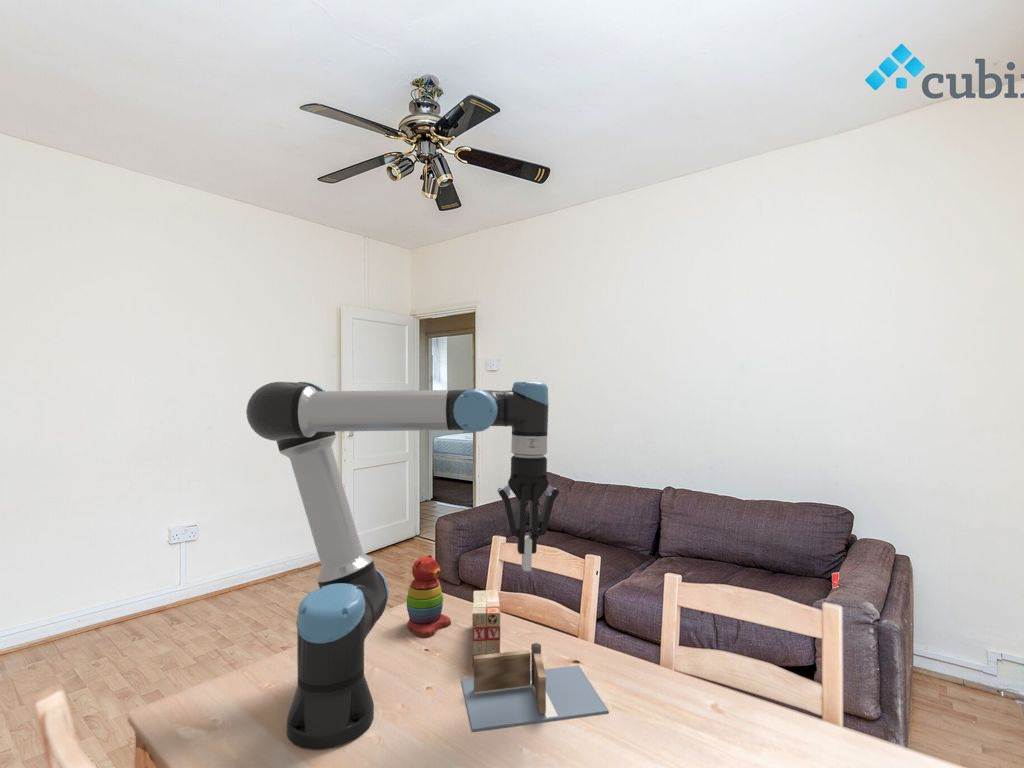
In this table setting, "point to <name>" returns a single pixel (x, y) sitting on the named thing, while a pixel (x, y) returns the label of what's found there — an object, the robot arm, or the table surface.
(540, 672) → the fence folding panel
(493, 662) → the fence fixed panel
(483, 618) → the stack of blocks
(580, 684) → the board
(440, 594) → the stacking bear
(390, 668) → the table surface
